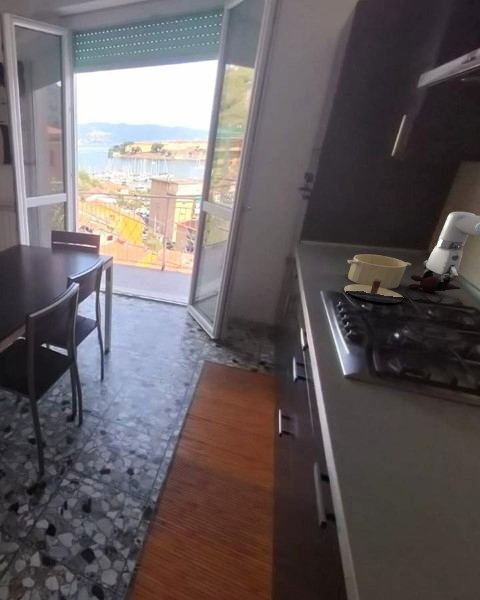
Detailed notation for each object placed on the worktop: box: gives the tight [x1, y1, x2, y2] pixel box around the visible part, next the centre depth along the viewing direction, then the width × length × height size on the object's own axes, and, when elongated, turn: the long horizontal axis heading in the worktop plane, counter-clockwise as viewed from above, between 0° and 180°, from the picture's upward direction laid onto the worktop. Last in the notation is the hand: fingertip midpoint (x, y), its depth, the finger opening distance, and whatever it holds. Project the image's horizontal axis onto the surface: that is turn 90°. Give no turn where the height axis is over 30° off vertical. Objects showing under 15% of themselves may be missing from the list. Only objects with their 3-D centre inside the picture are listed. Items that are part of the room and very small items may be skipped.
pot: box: [347, 253, 413, 290], centre depth 155 cm, size 18×23×10 cm
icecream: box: [408, 274, 461, 294], centre depth 144 cm, size 7×7×15 cm
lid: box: [343, 279, 403, 297], centre depth 141 cm, size 19×19×7 cm
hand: (432, 286), depth 144 cm, fingers closed on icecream, 7 cm apart
